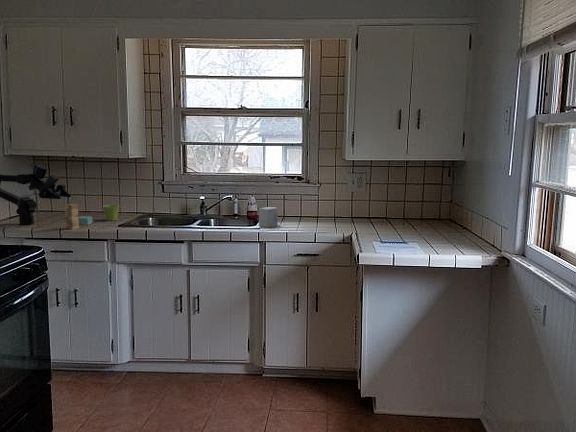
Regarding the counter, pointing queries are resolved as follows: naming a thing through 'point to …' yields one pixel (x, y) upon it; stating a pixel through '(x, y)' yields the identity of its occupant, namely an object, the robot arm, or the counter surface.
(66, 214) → the oak pillar
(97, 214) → the counter surface
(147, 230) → the counter surface
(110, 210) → the plant pot
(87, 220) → the base block
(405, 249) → the counter surface
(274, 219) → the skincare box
